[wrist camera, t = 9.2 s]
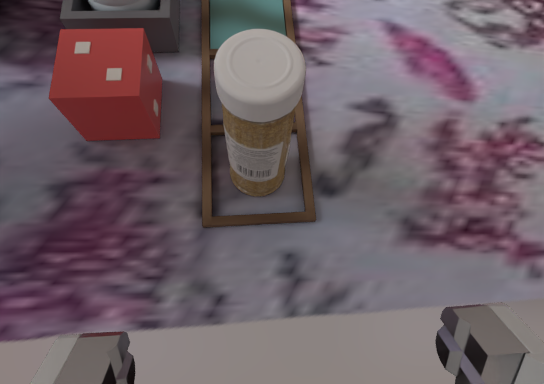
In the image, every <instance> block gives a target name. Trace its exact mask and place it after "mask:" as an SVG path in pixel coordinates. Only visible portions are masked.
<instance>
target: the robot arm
mask: <svg viewBox="0 0 544 384" xmlns="http://www.w3.org/2000/svg"><path fill="white" fill-rule="evenodd" d="M440 319H441V320H442V322H443V323H444V326H443V327H442V328H441V329H440V330H438V331H437V336H436V348H437V353H438V356H439V358H440V361H441V363H442V364H443V366H444V368H445V369H446V370H447V371H449V372H450V373H452V374H453V375H455V376H456V380H455V384H544V342H543V341H542V340H541V339H540V338H539V337H538V336H537V335H536V334H535V333H534V332H533V331H532V330H531V329H530V328H529V327H528V326H527V325H526V324H525V323H524V322H523V321H522V320H521V319H520V317H519V316H518V315H516V313H515V312H514V311H513V310H512V309H511V308H510V307H509V306H508V305H506V304H504V303H502V302H501V303H489V304H482V305H481V304H478V305H466V306H454V307H446V308H445V309H444V310H443V311H442V314H441V318H440ZM129 344H130V341H129V338H128V334H127V333H126V332H124V331H123V332H103V333H83V334H72V335H61V336H60V337H59V338H57V339H56V340H55V342H54V344H53V345H52V347H51V349H50V350H49V352H48V354H47V355H46V357H45V359H44V361H43V362H42V364H41V366H40V367H39V369H38V371H37V373H36V374H35V376H34V378H33V380H32V381H31V383H30V384H134V379H135V362H134V358H133V355H131V354H130V353H129V352H128V351H127V350H128V347H129Z"/></svg>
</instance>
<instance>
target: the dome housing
mask: <svg viewBox="0 0 544 384" xmlns="http://www.w3.org/2000/svg"><path fill="white" fill-rule="evenodd" d="M179 15H180V0H161V2H160V10H140V11H93V10H92V8H91V6H90V4H89V2H88V0H63V2H62V8H61V14H60V20H61V22H62V23H63V25H64V27H65V28H66V29H119V28H144V30H145V33H146V36H147V39H148V41H149V44H150V47H151V50H152V52H179Z"/></svg>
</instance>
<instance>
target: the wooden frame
mask: <svg viewBox="0 0 544 384" xmlns="http://www.w3.org/2000/svg"><path fill="white" fill-rule="evenodd" d="M283 9H284V12H283ZM284 18H285V21H284ZM285 27H286V31H285ZM250 29H267V30H272V31H275V32H278V33H280V34H283V35H285V36H286V37H288V38H289V39H291V40H292V41H293V42H294V43H295V35H294V27H293V18H292V10H291V1H290V0H283V2H282V0H210V22H209V0H202V226H203V228H205V227H223V226H242V225H260V224H278V223H297V222H315V221H316V215H315V207H314V198H313V190H312V181H311V172H310V164H309V155H308V147H307V138H306V130H305V121H304V112H303V104H302V95H301V98H300V100H299V102H298V104H297V106H296V109H295V121H296V122H293V126H292V131H291V132H297V140H298V149H299V159H300V168H301V177H302V187H303V196H304V205H305V212H291V213H272V214H252V215H233V216H214V217H212V170H211V135H225V131H224V125H211V96H210V59H215V56H216V53H217V51H218V50H219V48H220V47H221V45H222V44H223V43H224V42H225V41H226V40H227V39H228V38H230V37H231V36H233V35H235V34H237V33H239V32H242V31H245V30H250ZM210 48H211V49H210Z"/></svg>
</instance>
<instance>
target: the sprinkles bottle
mask: <svg viewBox="0 0 544 384" xmlns="http://www.w3.org/2000/svg"><path fill="white" fill-rule="evenodd" d="M305 72H306V65H305V60H304V57H303V54H302V52H301V51H300V49H299V48H298V46H297V45H296V44H295V43H294V42H293V41H292V40H291V39H289V38H288V37H286V36H285V35H283V34H280V33H278V32H275V31H272V30H267V29H250V30H245V31H242V32H239V33H237V34H235V35H233V36H231V37H230V38H228V39H227V40H226V41H225V42H224V43H223V44H222V45H221V47H220V48H219V50H218V51H217V53H216V56H215V60H214V76H215V84H216V90H217V94H218V96H219V99H220V101H221V103H222V109H223V123H224V131H225V137H226V144H227V151H228V158H229V162H230V176H231V179H232V181H233V183H234V185H235V186H236V187H237V188H238V189H239V190H240V191H241V192H243V193H245V194H247V195H251V196H265V195H268V194H270V193H272V192H274V191H275V190H276V189H277V188H279V187H280V185H281V183H282V181H283V179H284V173H285V164H286V162H287V157H288V152H289V147H290V142H291V131H292V126H293V121H294V114H295V109H296V106H297V104H298V102H299V100H300V98H301V95H302V91H303V86H304V80H305Z"/></svg>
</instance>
